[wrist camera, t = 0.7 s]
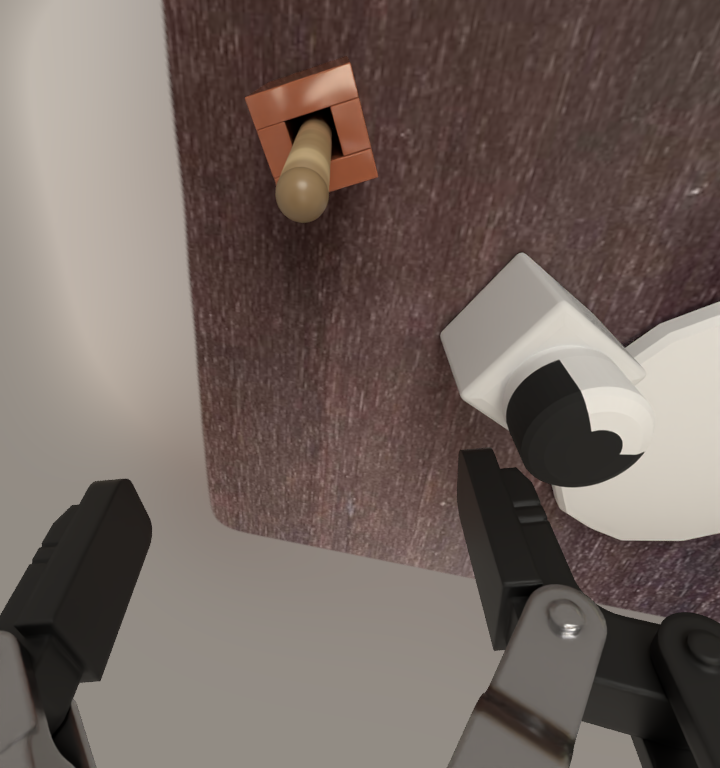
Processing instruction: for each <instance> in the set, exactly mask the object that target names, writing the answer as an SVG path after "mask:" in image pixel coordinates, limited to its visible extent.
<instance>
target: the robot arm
mask: <svg viewBox="0 0 720 768" xmlns="http://www.w3.org/2000/svg"><path fill="white" fill-rule="evenodd" d="M457 503H458V511H459V516H460V520H461V524H462V528H463V532H464V536H465V540H466V544H467V548H468V552H469V556H470V560H471V563H472V567H473V571H474V575H475V579H476V583H477V587H478V591H479V595H480V599H481V602H482V606H483V610H484V614H485V618H486V622H487V626H488V630H489V634H490V637H491V642H492V646H493V649H494V651H496V650H505V652H504V654H503V656H502V659H501V661H500V663H499V665H498V668H497V670H496V672H495V674H494V676H493V679H492V681H491V683H490V686H489V687H488V689H487V691H486V692H485V693H483V694H482V695H481V697H480V698H479V700H478V702H477V704H476V706H475V708H474V710H473V712H472V714H471V717H470V718H469V721H468V723H467V725H466V727H465V729H464V731H463V734H462V736H461V738H460V741H459V743H458V745H457V747H456V749H455V751H454V754H453V756H452V758H451V760H450V762H449V764H448V767H447V768H569V766H570V763H571V759H572V755H573V749H574V744H575V740H576V737H577V734H578V730H579V727H580V723H581V721H584V722H587V723H591V724H594V725H598V726H601V727H604V728H608V729H612V730H615V731H618V732H622V733H625V734H629V735H631V738H632V740H633V743H634V746H635V748H636V751H637V754H638V757H639V760H640V762H641V765H642V768H720V623H718V622H716V621H714V620H712V619H710V618H708V617H706V616H703V615H699V614H695V613H688V612H681V613H675V614H672V615H670V616H668V617H666V618H665V619H664V620H663V621H662V623H661V625H660V624H656V623H651V622H647V621H642V620H638V619H634V618H629V617H625V616H621V615H618V614H614V613H612V612H610V611H607V610H605V609H603V608H602V607H600V606H598V605H597V604H595V602H594V601H593V600H591V599H590V598H589V597H588V596H587V595H585V594H584V593H583V592H582V591H581V589H580V588H579V587H578V585H577V584H576V582H575V580H574V578H573V575H572V573H571V571H570V569H569V566H568V564H567V562H566V559H565V557H564V555H563V553H562V550H561V548H560V546H559V543H558V541H557V539H556V536H555V534H554V532H553V530H552V527H551V525H550V523H549V521H547V516H546V514H545V511H544V509H543V507H542V506H541V504H540V500H539V498H538V495H537V493H536V491H535V488H534V486H533V484H532V482H531V481H530V480H529V479H528V478H526V477H525V476H524V475H523V474H522V473H521V472H520V471H519V470H518V469H517V468H516V467H515V468H504V469H500V467H499V465H498V462H497V460H496V457H495V454H494V452H493V450H492V448H479V449H467V450H460V451H459V458H458V481H457ZM151 538H152V525H151V521H150V518H149V516H148V514H147V512H146V510H145V508H144V506H143V504H142V502H141V500H140V498H139V496H138V494H137V492H136V490H135V488H134V486H133V484H132V483H131V481H130V480H129V479H116V480H105V481H95V482H93V483H92V484H91V485H90V486H89V488H88V490H87V491H86V493H85V495H84V497H83V499H82V500H81V502H80V504H79V505H72V506H71V507H70V508H69V509H68V510H67V511H66V512H65V513H64V514H63V515H61V516H60V517H59V518H58V519H57V520H56V521H55V522H54V523H53V525H52V527H51V528H50V530H49V532H48V534H47V535H46V537H45V539H44V540H43V542H42V547H41V548H39V549H38V551H37V553H36V554H35V556H34V558H33V560H32V564H30V565H29V566H28V568H27V570H26V572H25V573H24V575H23V577H22V579H21V580H20V582H19V584H18V586H17V587H16V589H15V591H14V592H13V594H12V596H11V597H10V599H9V601H8V603H7V604H6V606H5V608H4V610H3V611H2V613H1V615H0V768H96V765H95V761H94V758H93V755H92V752H91V748H90V745H89V742H88V739H87V735H86V732H85V729H84V726H83V723H82V719H81V716H80V713H79V710H78V706H77V704H76V702H75V700H74V699H73V697H74V695H75V692H76V690H77V687H78V685H79V683H82V682H94V681H100V680H101V678H102V675H103V672H104V670H105V667H106V664H107V661H108V659H109V656H110V653H111V651H112V648H113V645H114V642H115V639H116V637H117V634H118V631H119V629H120V626H121V623H122V620H123V618H124V615H125V612H126V609H127V606H128V604H129V601H130V598H131V596H132V593H133V590H134V587H135V585H136V582H137V579H138V576H139V574H140V571H141V568H142V566H143V563H144V560H145V557H146V555H147V552H148V549H149V546H150V543H151Z"/></svg>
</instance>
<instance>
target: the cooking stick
mask: <svg viewBox="0 0 720 768" xmlns="http://www.w3.org/2000/svg"><path fill="white" fill-rule="evenodd" d="M332 127H333V116H332V113H331V109H330V107H327V108H324V109H321V110H318V111H315V112H312V113H308V114H305V117H304V119H303V122H302V124H301V127H300V129H299V131H298V134H297V136H296V139H295V141H294V143H293V146H292V148H291V151H290V153H289V156H288V158H287V160H286V163H285V165H284V168H283V170H282V172H281V175H280V177H279V180H278V182H277V185H276V191H275V195H276V201H277V205H278V207H279V209H280V210H281V212H282V213H283V214H284V215H285V216H286V217H288V218H289V219H291V220H293V221H295V222H300V223H306V222H311V221H313V220H315V219H317V218H318V217H320V216H321V215H322V214H323V212H324V210H325V209H326V206H327V204H328V199H329V182H330V164H331V145H332Z"/></svg>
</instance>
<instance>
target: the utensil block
mask: <svg viewBox="0 0 720 768" xmlns="http://www.w3.org/2000/svg"><path fill="white" fill-rule="evenodd" d="M245 100H246V103H247V106H248V109H249V111H250V114H251V117H252V120H253V123H254V125H255V128H256V130H257V134H258V136H259V139H260V142H261V145H262V147H263V150H264V153H265V156H266V158H267V161H268V164H269V167H270V170H271V172H272V175H273V177H274V180H275V183H276V185H277V182H278V180H279V177H280V175H281V172H282V170H283V168H284V165H285V163H286V160H287V158H288V156H289V153H290V151H291V148H292V146H293V143H294V141H295V139H296V136H297V134H298V131H299V129H300V127H301V124H302V122H303V117H302V115H305V114H308V113H312V112H315V111H318V110H321V109H324V108H327V107H330V109H331V113H332V116H333V120H334V124H335V127H336V130H335V131H332V145H331V164H330V182H329V192H332V191H335V190H338V189H341V188H345V187H348V186H351V185H355V184H358V183H361V182H365V181H368V180H371V179H374V178H377V177H378V173H377V169H376V165H375V161H374V157H373V153H372V149H371V144H370V140H369V136H368V132H367V128H366V124H365V120H364V116H363V112H362V107H361V103H360V99H359V95H358V91H357V87H356V83H355V79H354V75H353V71H352V66H351V63H350V61H349V59H348V57H347V56H345V57H342V58H339V59H336V60H333V61H330V62H327V63H324V64H321V65H318V66H315V67H312V68H309V69H306V70H303V71H300V72H297V73H294V74H291V75H288V76H285V77H282V78H279V79H277V80H274V81H271V82H268V83H267V84H265V85H264V86H262V87H260V88H259V89H257V90H256V91H254V92H253V93H251V94H250V95H248V96H247V97H245Z"/></svg>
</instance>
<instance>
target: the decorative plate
mask: <svg viewBox="0 0 720 768" xmlns="http://www.w3.org/2000/svg"><path fill="white" fill-rule="evenodd" d="M625 349H626V350H627V351H628V352H629V353H630V354H631V355H632V356H633V358H634V359H635V360H636V361H637V362H638V363H639V364H640V365H641V366H642V367H643V368H644V370H645V372H646V377H645V378H644V379H643V380H641V381H640V382H639V383H638V384H636V385H635V387H636V388H637V390H638V391H639V392H640V393H641V394H642V395H643V397H644V398H645V399H646V400H647V401H648V403H649V404H650V406H651V407H652V409H653V412H654V416H655V429H654V433H653V436H652V439H651V441H650V444H649V446H648V448H647V449H646V451H645V452H644V454H643V455H642V456H641V458H640V459H639V460H638V461H637V462H636V463H635V464H633V465H632V466H631V467H630V468H629V469H627V470H626V471H624V472H623V473H621V474H619V475H618V476H616V477H614V478H612V479H609V480H607V481H604V482H602V483H599V484H595V485H591V486H586V487H576V488H570V487H560V486H556V485H552V489H553V493H554V497H555V500H556V502H557V504H558V506H559V508H560V509H561V510H563V511H564V512H566V513H567V514H569V515H570V516H572V517H573V518H575V519H577V520H578V521H580V522H581V523H583V524H584V525H586V526H588V527H590V528H592V529H594V530H596V531H599V532H602V533H604V534H607V535H609V536H612V537H614V538H617V539H619V540H647V541H683V540H688V539H693V538H698V537H703V536H707V535H712V534H717V533H720V302H717V303H714V304H712V305H709V306H706V307H703V308H701V309H698V310H695V311H693V312H690V313H687V314H685V315H682V316H679V317H677V318H674V319H671V320H669V321H666V322H663V323H660V324H659V325H657V326H656V327H654V328H653V329H651V330H650V331H649V332H647V333H646V334H644V335H643V336H641V337H640V338H639V339H637V340H636V341H634V342H633V343H631V344H630V345H628V346H627V347H626V348H625Z"/></svg>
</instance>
